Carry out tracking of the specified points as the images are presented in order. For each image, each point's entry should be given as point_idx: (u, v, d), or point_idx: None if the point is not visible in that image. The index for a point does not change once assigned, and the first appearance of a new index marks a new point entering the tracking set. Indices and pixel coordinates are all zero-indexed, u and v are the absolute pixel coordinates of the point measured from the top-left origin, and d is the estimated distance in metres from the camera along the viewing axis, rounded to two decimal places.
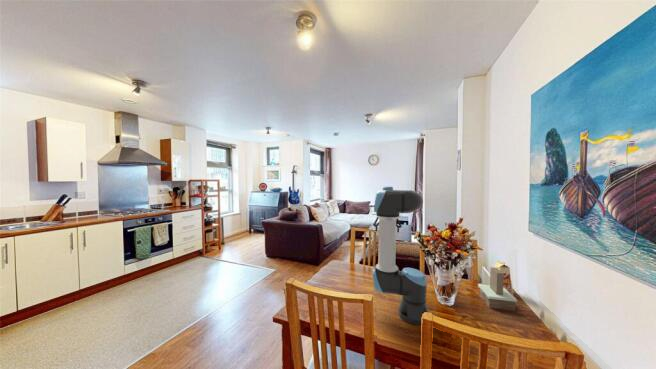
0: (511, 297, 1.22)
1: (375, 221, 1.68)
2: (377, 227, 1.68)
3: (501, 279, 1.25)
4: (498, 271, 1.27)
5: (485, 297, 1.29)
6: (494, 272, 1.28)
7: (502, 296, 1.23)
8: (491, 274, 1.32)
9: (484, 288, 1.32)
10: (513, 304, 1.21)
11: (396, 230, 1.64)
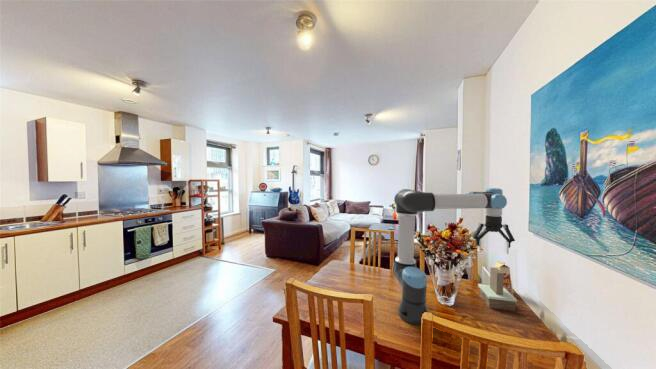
0: (511, 297, 1.22)
1: (477, 233, 1.30)
2: (480, 241, 1.30)
3: (501, 279, 1.25)
4: (498, 271, 1.27)
5: (485, 297, 1.29)
6: (494, 272, 1.28)
7: (502, 296, 1.23)
8: (491, 274, 1.32)
9: (484, 288, 1.32)
10: (513, 304, 1.21)
11: (507, 245, 1.27)
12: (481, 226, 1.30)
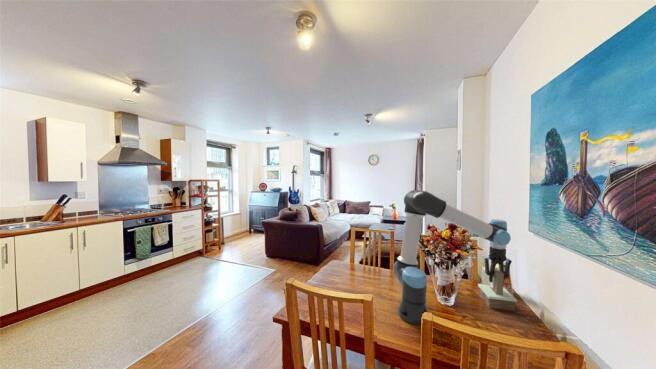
0: (511, 297, 1.23)
1: (487, 269, 1.29)
2: (493, 277, 1.28)
3: (501, 279, 1.25)
4: (498, 271, 1.27)
5: (485, 297, 1.29)
6: (494, 272, 1.28)
7: (502, 296, 1.23)
8: None
9: (484, 288, 1.32)
10: (513, 304, 1.21)
11: None
12: (486, 261, 1.29)
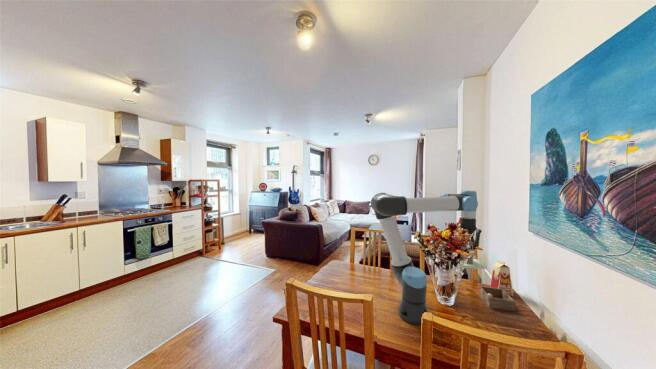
0: (480, 265, 1.24)
1: None
2: None
3: None
4: None
5: (485, 297, 1.29)
6: None
7: (471, 265, 1.25)
8: None
9: None
10: (513, 304, 1.21)
11: None
12: None
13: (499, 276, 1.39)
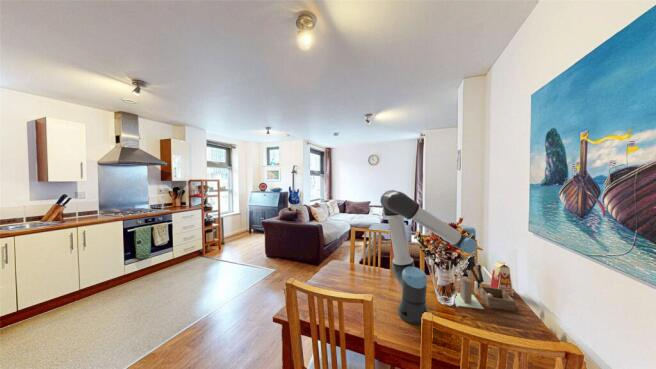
0: (479, 306, 1.25)
1: None
2: None
3: (469, 288, 1.27)
4: (467, 280, 1.29)
5: (485, 297, 1.29)
6: (463, 281, 1.30)
7: (470, 305, 1.25)
8: (461, 282, 1.34)
9: None
10: (513, 304, 1.21)
11: (476, 285, 1.29)
12: None
13: (499, 276, 1.39)
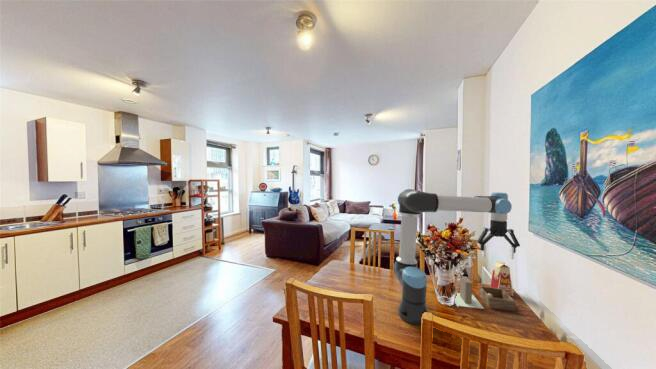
0: (479, 306, 1.25)
1: (481, 238, 1.29)
2: (484, 245, 1.29)
3: (470, 288, 1.27)
4: (467, 280, 1.29)
5: (485, 297, 1.29)
6: (463, 281, 1.30)
7: (470, 305, 1.25)
8: (461, 283, 1.34)
9: None
10: (513, 304, 1.21)
11: (512, 250, 1.25)
12: (486, 231, 1.28)
13: (499, 276, 1.39)
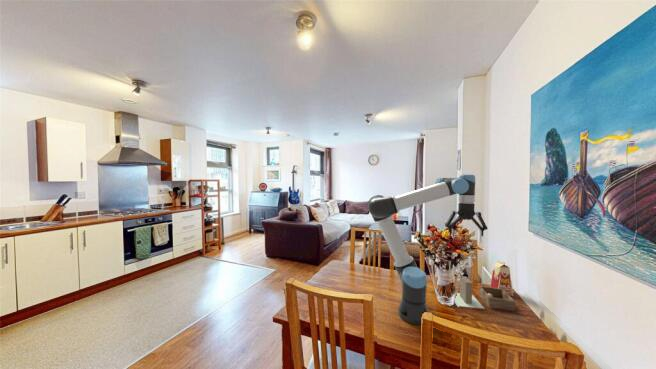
0: (479, 306, 1.25)
1: (449, 221, 1.25)
2: (452, 229, 1.25)
3: (470, 288, 1.27)
4: (467, 280, 1.29)
5: (485, 297, 1.29)
6: (463, 281, 1.30)
7: (471, 305, 1.25)
8: (460, 283, 1.34)
9: None
10: (513, 304, 1.21)
11: (480, 233, 1.22)
12: (453, 214, 1.25)
13: (499, 276, 1.39)
